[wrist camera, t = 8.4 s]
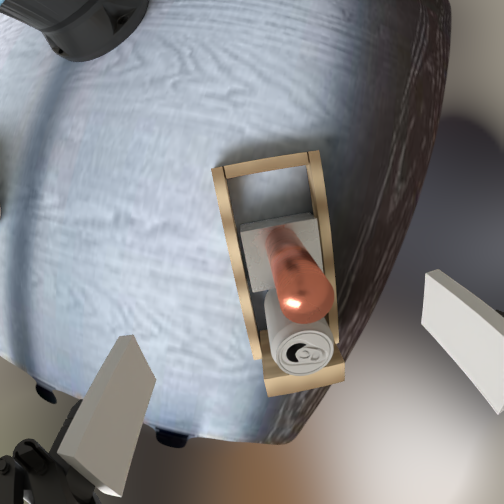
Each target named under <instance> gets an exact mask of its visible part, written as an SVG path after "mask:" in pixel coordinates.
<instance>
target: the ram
mask: <svg viewBox="0 0 504 504" xmlns="http://www.w3.org/2000/svg"><path fill="white" fill-rule="evenodd" d="M240 234H241V239H242V244H243V249H244V253H245V258H246V263H247V268H248V273H249V278H250V283H251V287H252V292H259V291H264V290H269V289H275V288H276V292H277V296H278V300H279V304H280V308H281V311H282V313H283V314H284V315H285V317H286V318H288V319H289V320H290V321H292V322H295V323H299V324H309V323H313V322H316V321H318V320H320V319H321V318H323V317H324V316H325V315H326V314H327V313H328V312H329V311H330V309H331V308H332V305H333V302H334V290H333V287H332V285H331V283H330V282H329V281H328V279H327V278H326V276H325V275H324V273H323V264H322V255H321V247H320V238H319V230H318V222H317V218H316V217H315V216H313V215H312V214H311V213H309V212H307V213H301V214H295V215H289V216H284V217H278V218H273V219H267V220H262V221H257V222H251V223H246V224H241V227H240Z"/></svg>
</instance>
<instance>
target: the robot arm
mask: <svg viewBox="0 0 504 504" xmlns="http://www.w3.org/2000/svg"><path fill="white" fill-rule="evenodd" d="M147 6H148V0H0V13H3V14H5V15H7V16H10V17H12V18H14V19H16V20H19V21H21V22H23V23H25V24H27V25H29V26H31V27H33V28H35V29H37V30H39V31H41V32H42V34H43V35H44V37H45V38H46V40H47V42H48V43H49V45H50V46H51V48H52V50H53V51H54V52H55V53H56V54H57V55H59V56H61V57H63V58H65V59H67V60H69V61H73V62H84V61H89V60H92V59H95V58H98V57H100V56H102V55H104V54H106V53H108V52H109V51H111V50H112V49H114V48H115V47H117V46H118V45H119V44H121V43H122V42H123V41H124V40H125V39H126V38H127V37H128V36H129V35H130V34H131V33H132V32H133V31H134V30H135V29H136V27H137V26H138V25H139V23H140V22H141V20H142V18H143V16H144V14H145V12H146V9H147ZM421 324H422V325H423V326H424V327H425V328H426V329H427V330H428V332H430V334H432V336H433V337H434V338H435V339H436V340H437V341H438V343H439V344H440V345H441V346H442V347H443V348H444V349H445V350H446V352H447V353H448V354H449V355H450V356H451V357H452V359H454V361H456V363H457V364H458V366H459V367H460V368H461V369H462V370H463V371H464V373H465V374H466V375H467V376H468V377H469V379H470V380H471V381H472V382H473V384H474V385H475V386H476V387H477V388H478V390H479V391H480V392H481V394H482V395H483V396H484V397H485V399H486V400H487V401H488V402H489V404H490V405H491V406H492V408H493V409H494V410H495V412H496V413H497V414H500V413H501V412H502V411H504V312H501V311H499V310H496V311H495V310H493V309H492V308H491V307H490V306H488V305H487V304H486V303H484V302H483V301H482V300H480V299H479V298H478V297H476V296H475V295H474V294H472V293H471V292H470V291H468V290H467V289H466V288H464V287H463V286H461V285H460V284H459V283H457V282H455V281H454V280H453V279H451V278H450V277H449V276H447V275H446V274H444V273H443V272H442V271H440V270H439V269H437V270H434V271H431V272H428V273H426V275H425V291H424V303H423V314H422V322H421ZM155 382H156V378H155V376H154V374H153V373H152V371H151V369H150V367H149V365H148V363H147V361H146V359H145V357H144V355H143V353H142V351H141V349H140V347H139V345H138V343H137V341H136V339H135V337H134V335H126V336H119V338H118V339H117V341H116V343H115V344H114V346H113V348H112V349H111V351H110V353H109V355H108V356H107V358H106V360H105V361H104V363H103V365H102V367H101V368H100V370H99V372H98V374H97V375H96V377H95V379H94V381H93V383H92V384H91V386H90V388H89V390H88V392H87V394H86V395H85V397H84V399H80V400H79V401H78V402H77V403H76V404H75V405H74V406H73V407H72V409H71V411H70V413H69V414H68V416H67V419H66V420H65V422H64V424H63V427H62V428H61V430H60V432H59V433H58V435H57V437H56V440H55V441H54V443H53V446H52V448H51V450H50V452H49V453H47V452H46V451H45V450H44V449H43V448H42V447H41V446H40V444H38V442H36V441H35V440H34V439H25V440H23V441H21V442H20V443H19V444H18V445H17V446H16V447H15V449H14V451H13V458H12V457H11V456H8V455H5V456H3V457H1V458H0V504H23V503H24V501H23V500H25V501H27V502H28V503H29V504H101V502H100V500H99V498H98V496H97V495H96V494H95V493H94V488H95V487H97V488H98V489H99V490H101V491H102V492H103V493H105V494H109V495H114V496H119V497H122V494H123V490H124V486H125V482H126V478H127V474H128V471H129V467H130V464H131V460H132V457H133V453H134V450H135V446H136V443H137V439H138V436H139V433H140V429H141V426H142V423H143V420H144V417H145V413H146V410H147V407H148V404H149V401H150V398H151V395H152V392H153V388H154V385H155Z"/></svg>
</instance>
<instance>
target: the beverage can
mask: <svg viewBox="0 0 504 504" xmlns="http://www.w3.org/2000/svg"><path fill="white" fill-rule="evenodd" d="M264 308H265V315H266V322H267V328H268V335H269V342H270V349H271V355H272V357H273V359H274V361H275V362H276V363H277V364H278V366H279V368H280V369H281V370H282V371H284V372H285V373H287V374H290V375H294V376H305V375H310V374H313V373H315V372H317V371H319V370H321V369H322V368H323V367H325V366H326V365H327V364H328V362H329V361H330V359H331V358H332V355H333V351H334V348H333V345H334V338H333V334H332V332H331V330H330V328H329V326H328V324H327V322H326V320H325V318H324V317H323V318H321V319H320V320H318V321H316V322H313V323H309V324H299V323H295V322H292V321H290V320H289V319H288V318H286V317H285V315H284V314H283V313H282V311H281V308H280V304H279V300H278V296H277V292H276V288H275V289H269V290H268V292H267V294H266V296H265V299H264Z"/></svg>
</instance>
